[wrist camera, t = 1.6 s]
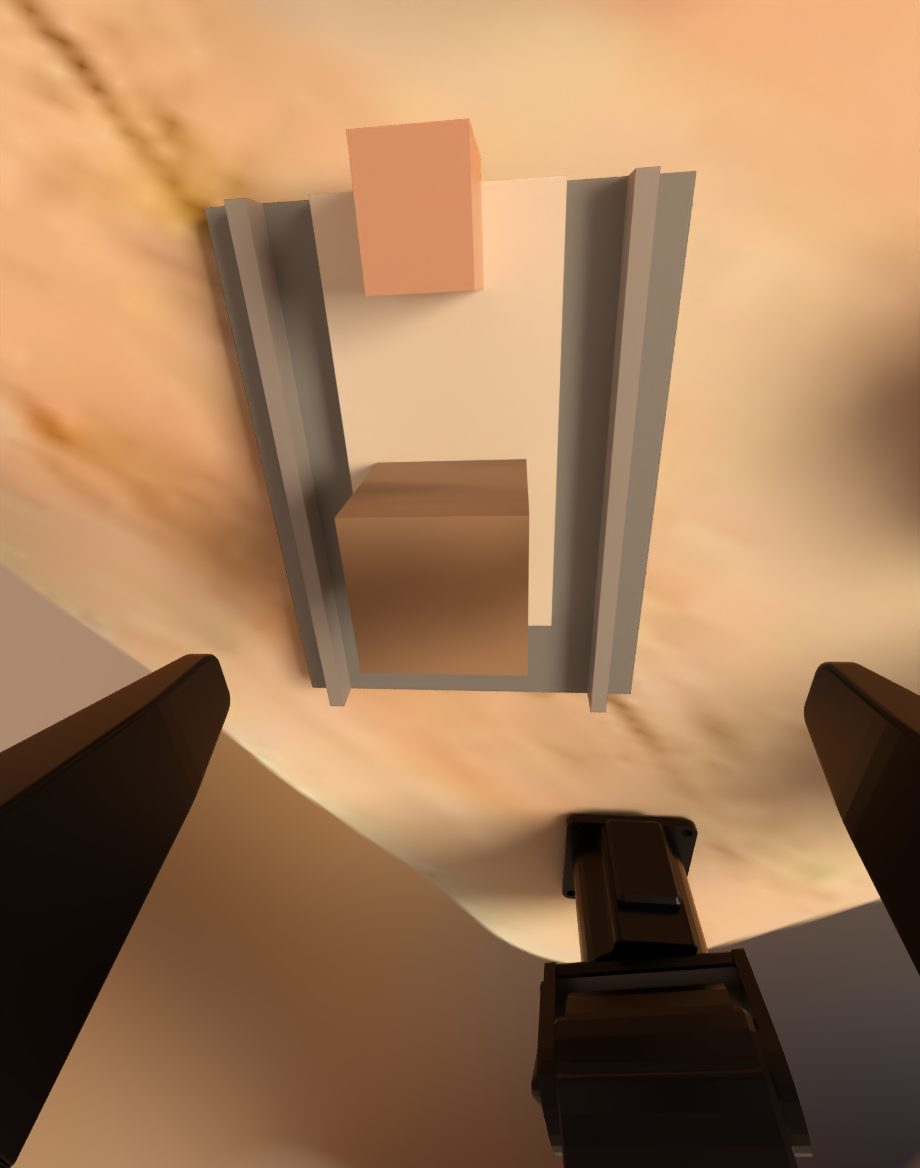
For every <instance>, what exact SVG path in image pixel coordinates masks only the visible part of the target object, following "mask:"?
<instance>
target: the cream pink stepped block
mask: <svg viewBox="0 0 920 1168" xmlns="http://www.w3.org/2000/svg"><path fill="white" fill-rule="evenodd" d="M346 134H347V142H348V151H349V160H350V168H351V177H352V185H353V192H341V193H328V194H315V195H309V201H310V208H311V215H312V222H313V228H314V235H315V242H316V248H317V255H318V262H319V269H320V275H321V282H322V289H323V295H324V302H325V309H326V315H327V322H328V329H329V336H330V342H331V349H332V356H333V362H334V369H335V376H336V383H337V389H338V396H339V403H340V409H341V416H342V423H343V429H344V436H345V443H346V450H347V456H348V463H349V470H350V476H351V483H352V490H353V493H354V492H355V491H356V489H357V488H358V487H359V486H360V484H361V483H362V482H363V480H364V479H365V478H366V477H367V475H368V474H369V473H370V471H371V470H372V469H373V468H374V466H375V465H376V464H377V463H379V462H422V461H464V460H507V459H526V462H527V481H528V499H529V591H528V626H551V619H552V591H553V562H554V534H555V506H556V477H557V449H558V421H559V393H560V364H561V336H562V308H563V279H564V251H565V223H566V194H567V175H565V176H552V177H539V178H526V179H512V180H499V181H486V182H481V158H480V154H479V151H478V148H477V144H476V141H475V137H474V134H473V131H472V127H471V124H470V120H469V119H459V120H447V121H436V122H424V123H413V124H402V125H390V126H379V127H368V128H356V129H346Z"/></svg>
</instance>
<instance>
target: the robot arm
mask: <svg viewBox="0 0 920 1168" xmlns="http://www.w3.org/2000/svg"><path fill="white" fill-rule="evenodd" d="M229 707H230V694H229V690H228V687H227V684H226V681H225V678H224V675H223V672H222V669H221V666H220V663H219V661H218V659H217V658H216V657H215V656H214V655H212V654H188V655H185V656H183V657H181V658H179V659H177V660H175V661H173V662H171V663H170V664H168V665H166V666H164V667H162V668H160V669H158V670H156V671H154V672H152V673H151V674H149V675H147V676H145V677H143V678H141V679H139V680H137V681H135V682H133V683H132V684H130V685H128V686H126V687H124V688H122V689H120V690H118V691H116V692H115V693H113V694H111V695H109V696H107V697H105V698H103V699H101V700H99V701H97V702H95V703H94V704H92V705H90V706H88V707H86V708H84V709H82V710H80V711H78V712H76V713H75V714H73V715H71V716H69V717H67V718H65V719H63V720H61V721H59V722H57V723H56V724H54V725H52V726H50V727H48V728H46V729H44V730H42V731H40V732H38V733H37V734H35V735H33V736H31V737H29V738H27V739H25V740H23V741H21V742H20V743H18V744H16V745H14V746H12V747H10V748H8V749H6V750H4V751H2V752H0V1168H11V1166H13V1165H14V1163H15V1162H16V1160H17V1158H18V1156H19V1154H20V1152H21V1150H22V1148H23V1146H24V1144H25V1142H26V1140H27V1138H28V1136H29V1134H30V1132H31V1130H32V1127H33V1126H34V1124H35V1122H36V1120H37V1118H38V1116H39V1113H40V1111H41V1109H42V1107H43V1105H44V1103H45V1101H46V1099H47V1097H48V1095H49V1093H50V1091H51V1089H52V1087H53V1085H54V1083H55V1081H56V1079H57V1077H58V1075H59V1073H60V1071H61V1069H62V1067H63V1065H64V1063H65V1061H66V1059H67V1057H68V1055H69V1053H70V1051H71V1049H72V1047H73V1045H74V1043H75V1041H76V1039H77V1037H78V1035H79V1033H80V1030H81V1029H82V1027H83V1025H84V1023H85V1021H86V1019H87V1017H88V1015H89V1012H90V1011H91V1009H92V1006H93V1004H94V1002H95V1000H96V998H97V996H98V994H99V992H100V990H101V988H102V986H103V984H104V982H105V980H106V978H107V976H108V974H109V972H110V970H111V968H112V966H113V964H114V962H115V960H116V958H117V956H118V954H119V952H120V950H121V948H122V946H123V944H124V942H125V940H126V938H127V936H128V934H129V932H130V929H131V928H132V926H133V924H134V922H135V920H136V918H137V915H138V913H139V911H140V910H141V907H142V905H143V903H144V901H145V899H146V897H147V895H148V893H149V891H150V889H151V887H152V885H153V883H154V881H155V879H156V877H157V875H158V873H159V871H160V869H161V867H162V865H163V863H164V861H165V859H166V857H167V855H168V853H169V851H170V849H171V847H172V845H173V843H174V841H175V839H176V837H177V835H178V833H179V831H180V829H181V827H182V825H183V822H184V821H185V818H186V817H187V815H188V813H189V810H190V808H191V806H192V804H193V802H194V800H195V797H196V795H197V793H198V790H199V788H200V786H201V783H202V781H203V778H204V775H205V773H206V770H207V767H208V764H209V762H210V759H211V756H212V754H213V751H214V748H215V746H216V743H217V740H218V737H219V735H220V732H221V730H222V727H223V724H224V722H225V719H226V716H227V713H228V711H229ZM804 718H805V723H806V726H807V728H808V731H809V734H810V737H811V739H812V742H813V745H814V747H815V750H816V753H817V755H818V758H819V761H820V763H821V766H822V769H823V771H824V774H825V777H826V779H827V782H828V785H829V788H830V790H831V793H832V796H833V798H834V801H835V804H836V806H837V809H838V811H839V814H840V816H841V818H842V821H843V823H844V825H845V827H846V829H847V831H848V834H849V836H850V838H851V840H852V842H853V844H854V846H855V848H856V850H857V852H858V854H859V856H860V858H861V860H862V862H863V864H864V866H865V868H866V870H867V872H868V874H869V876H870V878H871V880H872V882H873V884H874V886H875V888H876V890H877V892H878V894H879V896H880V898H881V900H882V902H883V904H884V905H885V908H886V909H887V912H888V914H889V916H890V917H891V919H892V922H893V924H894V926H895V928H896V930H897V932H898V934H899V935H900V938H901V939H902V942H903V944H904V945H905V947H906V950H907V951H908V953H909V955H910V957H911V960H912V961H913V963H914V965H915V967H916V969H917V971H918V973H919V975H920V696H919V695H917V694H915V693H913V692H911V691H910V690H908V689H906V688H904V687H902V686H900V685H898V684H896V683H894V682H892V681H890V680H888V679H886V678H884V677H882V676H881V675H879V674H877V673H875V672H873V671H871V670H869V669H867V668H865V667H863V666H861V665H859V664H857V663H853V662H824V663H822V664H821V665H820V666H819V667H818V668H817V670H816V673H815V676H814V679H813V682H812V685H811V688H810V691H809V694H808V697H807V700H806V702H805V706H804ZM696 838H697V829H696V826H695V824H694V822H692V821H690V820H678V819H655V818H631V817H608V816H584V815H573V816H570V817H568V818H567V820H566V831H565V847H564V863H563V879H562V892H563V895H564V896H565V897H567V898H571V899H575V900H576V910H577V921H578V932H579V942H580V953H581V962H577V963H563V964H557V962H546V963H545V967H544V981H542V982H541V985H540V1013H539V1031H538V1048H537V1054H536V1059H535V1065H534V1070H533V1076H532V1083H531V1086H532V1095H533V1099H534V1100H535V1101H536V1103H537V1104H538V1105H539V1107H540V1108H541V1109H542V1110H543V1113H544V1118H545V1122H546V1125H547V1130H548V1135H549V1139H550V1143H551V1146H552V1148H553V1150H554V1153H555V1154H556V1155H563V1163H564V1168H798V1167H797V1164H796V1160H795V1157H794V1156H812V1148H811V1144H810V1139H809V1134H808V1130H807V1127H806V1123H805V1119H804V1116H803V1112H802V1108H801V1105H800V1102H799V1098H798V1095H797V1092H796V1088H795V1085H794V1082H793V1079H792V1076H791V1073H790V1070H789V1067H788V1064H787V1061H786V1058H785V1055H784V1052H783V1050H782V1047H781V1044H780V1042H779V1039H778V1036H777V1034H776V1031H775V1028H774V1026H773V1023H772V1021H771V1018H770V1015H769V1013H768V1010H767V1008H766V1005H765V1003H764V1000H763V997H762V995H761V992H760V990H759V987H758V984H757V982H756V979H755V977H754V974H753V971H752V969H751V966H750V964H749V961H748V959H747V956H746V953H745V951H744V949H743V948H730V951H724V952H710V953H708V949H707V946H706V942H705V939H704V935H703V932H702V928H701V925H700V921H699V918H698V914H697V911H696V907H695V904H694V900H693V897H692V893H691V890H690V886H689V883H688V879H687V876H688V872H689V867H690V863H691V859H692V855H693V851H694V846H695V842H696Z"/></svg>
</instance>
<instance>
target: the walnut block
mask: <svg viewBox="0 0 920 1168" xmlns="http://www.w3.org/2000/svg"><path fill="white" fill-rule="evenodd" d="M335 524H336V530H337V536H338V542H339V548H340V554H341V560H342V565H343V571H344V577H345V583H346V589H347V595H348V601H349V607H350V613H351V618H352V624H353V630H354V636H355V642H356V648H357V654H358V660H359V666H360V671H361V673H403V674H462V675H521V676H528V591H529V499H528V481H527V462H526V459H507V460H464V461H422V462H379V463H377V464H376V465H375V466H374V468H373V469H372V470H371V471H370V473H369V474H368V475H367V477H366V478H365V479H364V480H363V482H362V483H361V484H360V486H359V487H358V488H357V489H356V491H355V492H354V493H353V495H352V496H351V497H350V499H349V500H348V501H347V502H346V504H345V505H344V506H343V508H342V509H341V510H340V511H339V513H338V514H337V515H336V517H335Z"/></svg>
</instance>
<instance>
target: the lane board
mask: <svg viewBox="0 0 920 1168" xmlns="http://www.w3.org/2000/svg"><path fill="white" fill-rule="evenodd" d="M660 167H661V166H658V167H645V168H636V169H635V170H634V171H633V172H632V173H631V174H630V175H628V176H623V177H610V178H596V179H583V180H570V181H567V194H566V223H565V251H564V279H563V308H562V336H561V364H560V393H559V421H558V449H557V477H556V506H555V534H554V562H553V591H552V619H551V626H528V676H521V675H462V674H403V673H361V671H360V666H359V660H358V654H357V648H356V642H355V636H354V630H353V624H352V618H351V613H350V607H349V601H348V595H347V589H346V583H345V577H344V571H343V565H342V560H341V554H340V548H339V542H338V536H337V530H336V524H335V517H336V515H337V514H338V513H339V511H340V510H341V509H342V508H343V506H344V505H345V504H346V502H347V501H348V500H349V499H350V497H351V496H352V495H353V490H352V483H351V476H350V470H349V463H348V456H347V450H346V443H345V436H344V429H343V423H342V416H341V409H340V403H339V396H338V389H337V383H336V376H335V369H334V362H333V356H332V349H331V342H330V336H329V329H328V322H327V315H326V309H325V302H324V295H323V289H322V282H321V275H320V269H319V262H318V255H317V248H316V242H315V235H314V228H313V222H312V215H311V208H310V201H309V200H303V201H289V202H276V203H259V202H256V201H253V200H250V199H246V198H238V199H225V200H224V203H225V206H222V207H209V208H204V209H205V214H206V218H207V222H208V227H209V231H210V236H211V240H212V245H213V249H214V253H215V258H216V262H217V267H218V271H219V276H220V280H221V284H222V289H223V293H224V298H225V302H226V307H227V311H228V315H229V320H230V324H231V329H232V333H233V338H234V342H235V346H236V351H237V355H238V360H239V364H240V369H241V373H242V377H243V382H244V386H245V391H246V395H247V400H248V404H249V408H250V413H251V417H252V422H253V426H254V431H255V435H256V439H257V444H258V448H259V453H260V457H261V462H262V466H263V470H264V475H265V479H266V484H267V488H268V493H269V497H270V501H271V506H272V510H273V515H274V519H275V524H276V528H277V532H278V537H279V541H280V546H281V550H282V555H283V559H284V563H285V568H286V572H287V577H288V581H289V586H290V590H291V594H292V599H293V603H294V608H295V612H296V617H297V621H298V625H299V630H300V634H301V639H302V643H303V648H304V652H305V656H306V661H307V665H308V670H309V674H310V679H311V683H312V687H314V688H327V692H328V697H329V702H330V706H344V705H345V702H346V700H347V698H348V695H349V693H350V690H351V688H364V689H414V690H464V691H514V692H565V693H588V699H589V705H590V711H591V712H606V704H607V694H608V693H615V694H631V686H632V678H633V670H634V662H635V654H636V646H637V638H638V630H639V623H640V615H641V607H642V599H643V591H644V583H645V575H646V567H647V559H648V551H649V543H650V535H651V527H652V519H653V511H654V504H655V496H656V488H657V480H658V472H659V464H660V456H661V448H662V440H663V432H664V424H665V416H666V408H667V400H668V393H669V385H670V377H671V369H672V361H673V353H674V345H675V337H676V329H677V321H678V313H679V305H680V297H681V289H682V281H683V274H684V266H685V258H686V250H687V242H688V234H689V226H690V218H691V210H692V202H693V194H694V186H695V178H696V171H690V172H677V173H663V174H660Z"/></svg>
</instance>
